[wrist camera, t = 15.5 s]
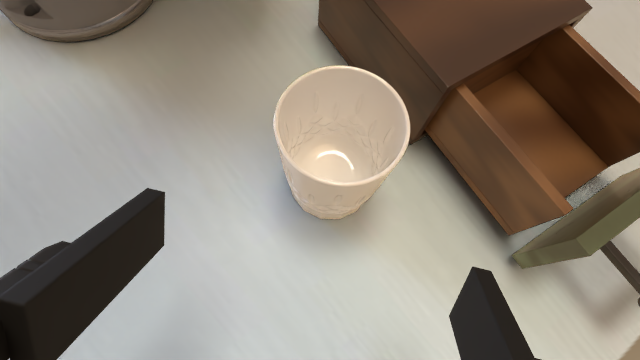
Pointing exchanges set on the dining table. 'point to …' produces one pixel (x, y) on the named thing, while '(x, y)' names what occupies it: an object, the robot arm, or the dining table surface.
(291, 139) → the white cup
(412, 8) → the cabinet
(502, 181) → the drawer
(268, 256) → the dining table surface
